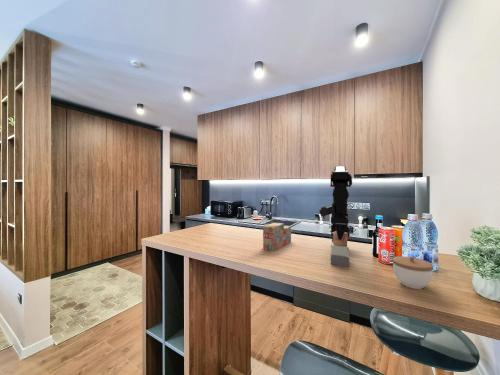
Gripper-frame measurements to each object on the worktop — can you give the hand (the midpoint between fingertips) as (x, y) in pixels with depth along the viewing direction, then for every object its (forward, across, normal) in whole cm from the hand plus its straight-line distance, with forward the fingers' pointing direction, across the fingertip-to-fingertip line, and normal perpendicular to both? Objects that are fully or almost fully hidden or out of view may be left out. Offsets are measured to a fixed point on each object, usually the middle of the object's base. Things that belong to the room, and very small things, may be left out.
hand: (340, 237), depth 90 cm
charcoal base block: (+11, 0, 0) cm, 11 cm away
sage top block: (+7, 0, 0) cm, 7 cm away
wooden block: (+3, 0, 0) cm, 3 cm away
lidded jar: (+11, +11, +22) cm, 27 cm away
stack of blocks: (+12, -15, -32) cm, 37 cm away
